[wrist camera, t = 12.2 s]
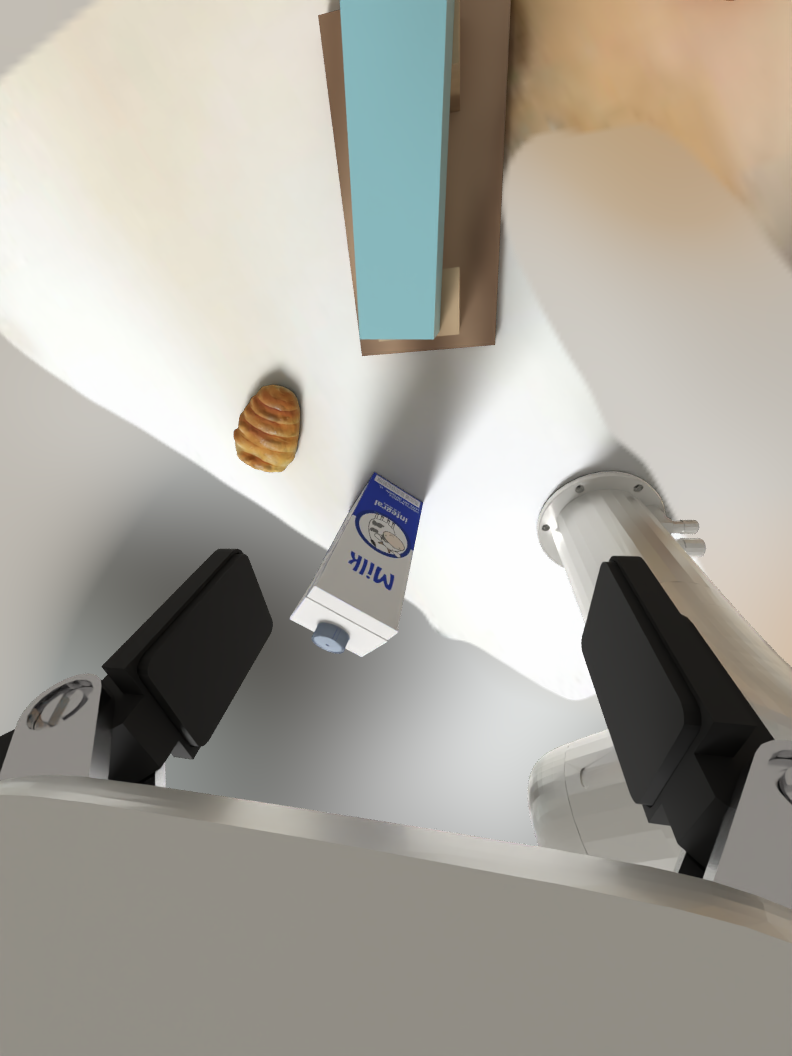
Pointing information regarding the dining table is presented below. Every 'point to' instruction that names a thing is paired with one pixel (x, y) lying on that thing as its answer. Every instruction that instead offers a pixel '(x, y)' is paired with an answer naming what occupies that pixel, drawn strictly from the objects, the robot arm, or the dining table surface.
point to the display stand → (450, 173)
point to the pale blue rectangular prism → (398, 159)
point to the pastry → (269, 429)
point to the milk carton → (363, 572)
